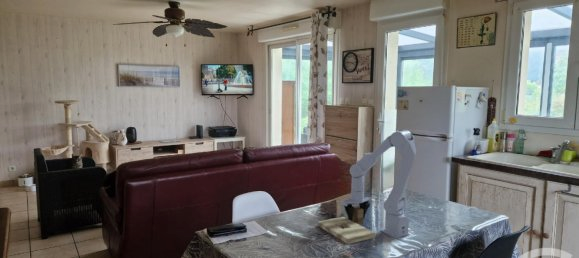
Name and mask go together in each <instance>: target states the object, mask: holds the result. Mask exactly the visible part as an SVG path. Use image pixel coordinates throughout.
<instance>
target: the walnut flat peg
mask: <svg viewBox="0 0 579 258" xmlns="http://www.w3.org/2000/svg"><path fill="white" fill-rule="evenodd" d="M353 207H355V208H354V212H353V220H352V221H353V222H355V223H357V224H359V225H361V226H362V225H363V224H364V219H363V210H364V209H362V208H360V206H357V205H356V206H354V205H353Z"/></svg>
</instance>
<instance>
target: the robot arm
mask: <svg viewBox="0 0 579 258" xmlns="http://www.w3.org/2000/svg"><path fill="white" fill-rule="evenodd" d="M390 148H395V149H396V150H397V151H399V153H400V154H401V156H402V157H401V159H400V163H399V167H398V169H397V173H396V176H395V179H394V183H393V185H392V188H391V189H392V190H391V191H390V193H389V194H388V197H387V198H386V200H384V202H383V209H384V211H385V214H384V215H385V218H384V219H385V221H384V223H385V224H384V228H381V229H380V231H381V232H382V233H384V234H386V235H388V236H391V237H393V238H395V239H398V238H402V237H406V236H410V233H409V223H410V222H409V218H408V217H407V216H406V215H405V214H404V210H403V209H404V208H405V206H406V196H407V194H406V190H407V187H408V183H409V179H410V178H411V174H412V171H413V167H414V164H415V162H416V158H417V155H418V154H417V153H418V152H417V148H416V144H415V136H414V135H413V134H412V132H411V131H409V130H407V129H402V130H399V131H394V132H393V133H391V135H389V136H387V137H386V138H385V139H384V140H383V141H382V142H381V143H380V144H379V145H378V146H377V147H376V148H375V149H374V150H373V151H372V152H365V153H364V154H363V156H362V158H360V159H358V160H357V161H356V163H355V164H352V165H351V166H350V167H349V174H350V176H351V183H350V184H351V190H350V198H348V199H346V200H343V201H342V202H343V205H344V207H345V209H346V212H347V215H348V219H349V220H350V221H352V220H353V212H354V208H355V207H354V205H358V204H359V207H360V208H362V209H364V210H363V220H364V219H365V217H366V213H367V211H368V209H369V208H370V206H371V202H372V198H371V197H369V196H366V197H365V178H366V177H365V176H366V175H367V173H368V171H369V170H371V168H372V167H374V166H375V165H376V164H377V163H378V159H379V158H380V156H382V155H383V154H384V153H385V152H386V151H388V150H389V149H390Z"/></svg>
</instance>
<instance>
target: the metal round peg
mask: <svg viewBox="0 0 579 258" xmlns="http://www.w3.org/2000/svg"><path fill="white" fill-rule="evenodd" d="M338 212H339V215H338V216H339V217H345V218H347V219H348V215H347V212H346V209H345V207H344V205H343V201H341V202H339V211H338ZM339 217H338V218H339Z"/></svg>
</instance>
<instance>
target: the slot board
mask: <svg viewBox="0 0 579 258" xmlns="http://www.w3.org/2000/svg"><path fill="white" fill-rule="evenodd" d="M317 226H318V227H319V228H320V229H322V230H324V231H326V232H327V233H329V234H331V235H333V236H334V237H335V238H337V239H339V240H341V241H342V242H344V243H345V244H347V245H349V244H350V245H351V244H353V243H354V244H355V243H357V242H359V243H360V242H361V241H362V242H363V241H367V240H371V239H375V238H376V232H374V231H373V230H371V229H368V228H366V227H365V226H362V224H361V225H359V224H357V223H355V222H353V221H350V220H349V219H347V218H345V217H335V218H329V219H324V220H319V221H317Z"/></svg>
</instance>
